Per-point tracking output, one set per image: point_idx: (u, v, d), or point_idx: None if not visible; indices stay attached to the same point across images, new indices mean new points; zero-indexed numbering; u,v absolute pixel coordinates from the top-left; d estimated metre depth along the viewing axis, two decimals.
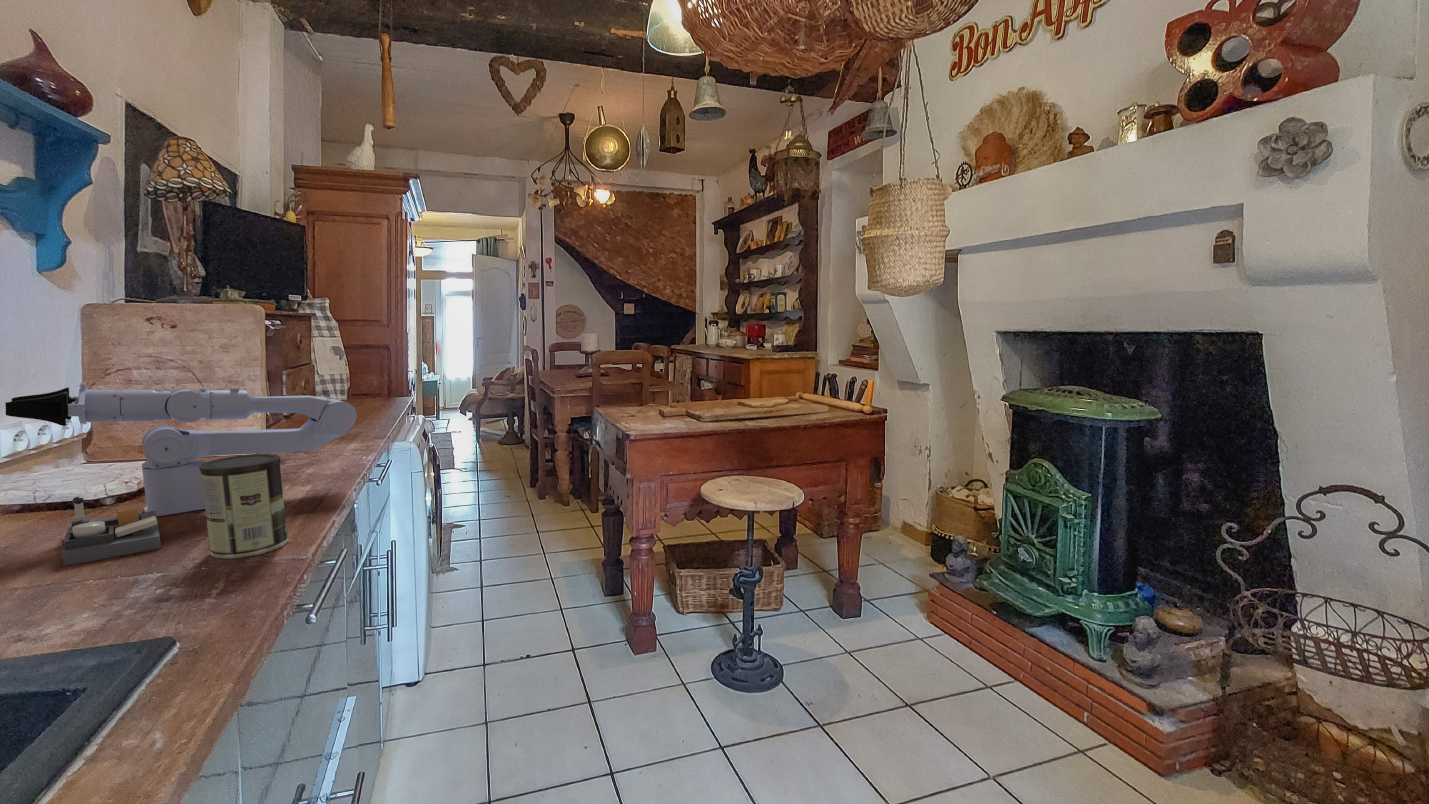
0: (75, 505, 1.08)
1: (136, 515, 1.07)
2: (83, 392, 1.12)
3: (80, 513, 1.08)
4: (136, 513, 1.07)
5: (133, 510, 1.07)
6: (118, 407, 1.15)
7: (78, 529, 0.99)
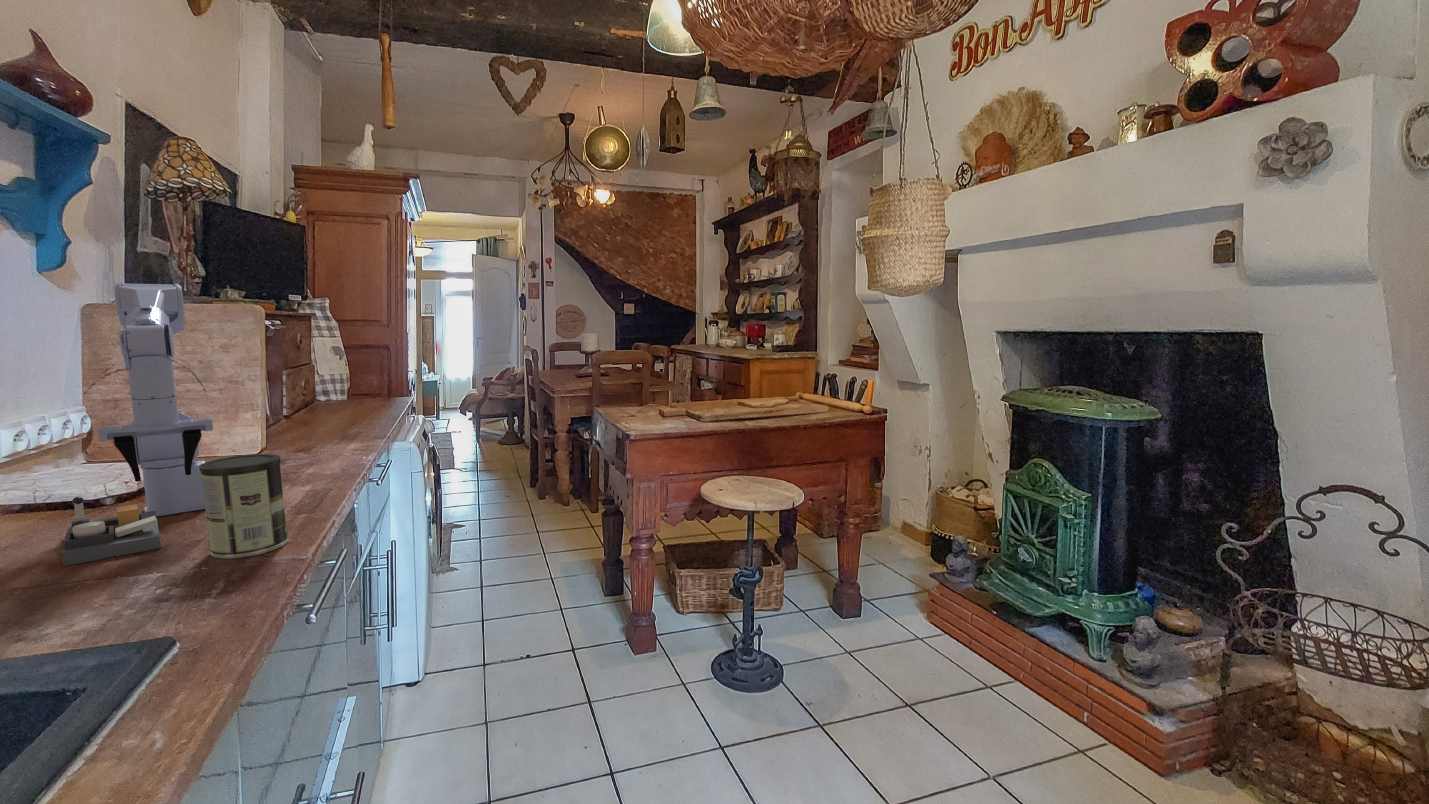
0: (75, 505, 1.08)
1: (136, 515, 1.07)
2: (173, 425, 1.09)
3: (80, 513, 1.08)
4: (136, 513, 1.07)
5: (133, 510, 1.07)
6: None
7: (78, 529, 0.99)
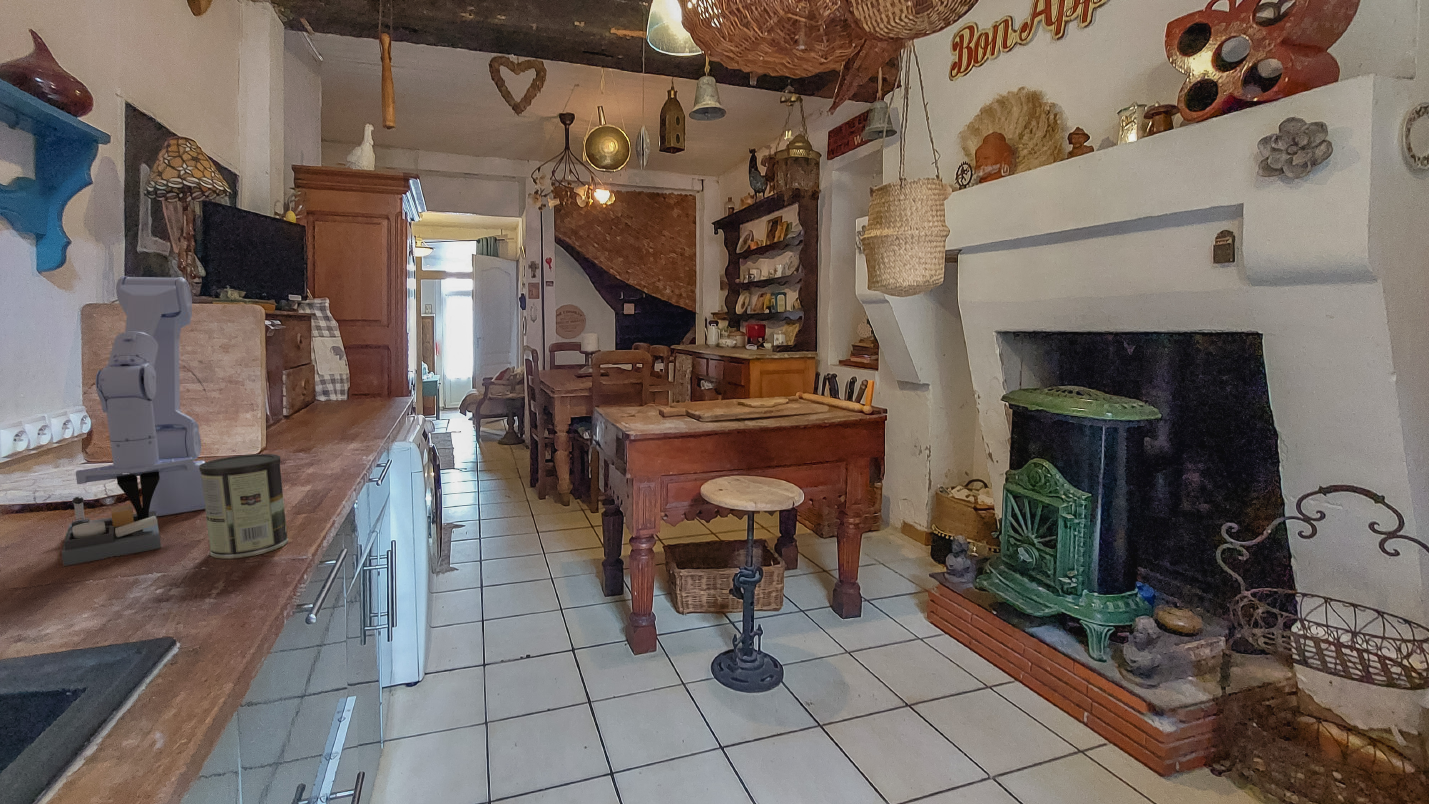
0: (75, 505, 1.08)
1: (131, 516, 1.06)
2: (153, 466, 1.07)
3: (80, 513, 1.08)
4: (131, 514, 1.06)
5: (127, 511, 1.06)
6: (156, 437, 1.09)
7: (78, 529, 0.99)
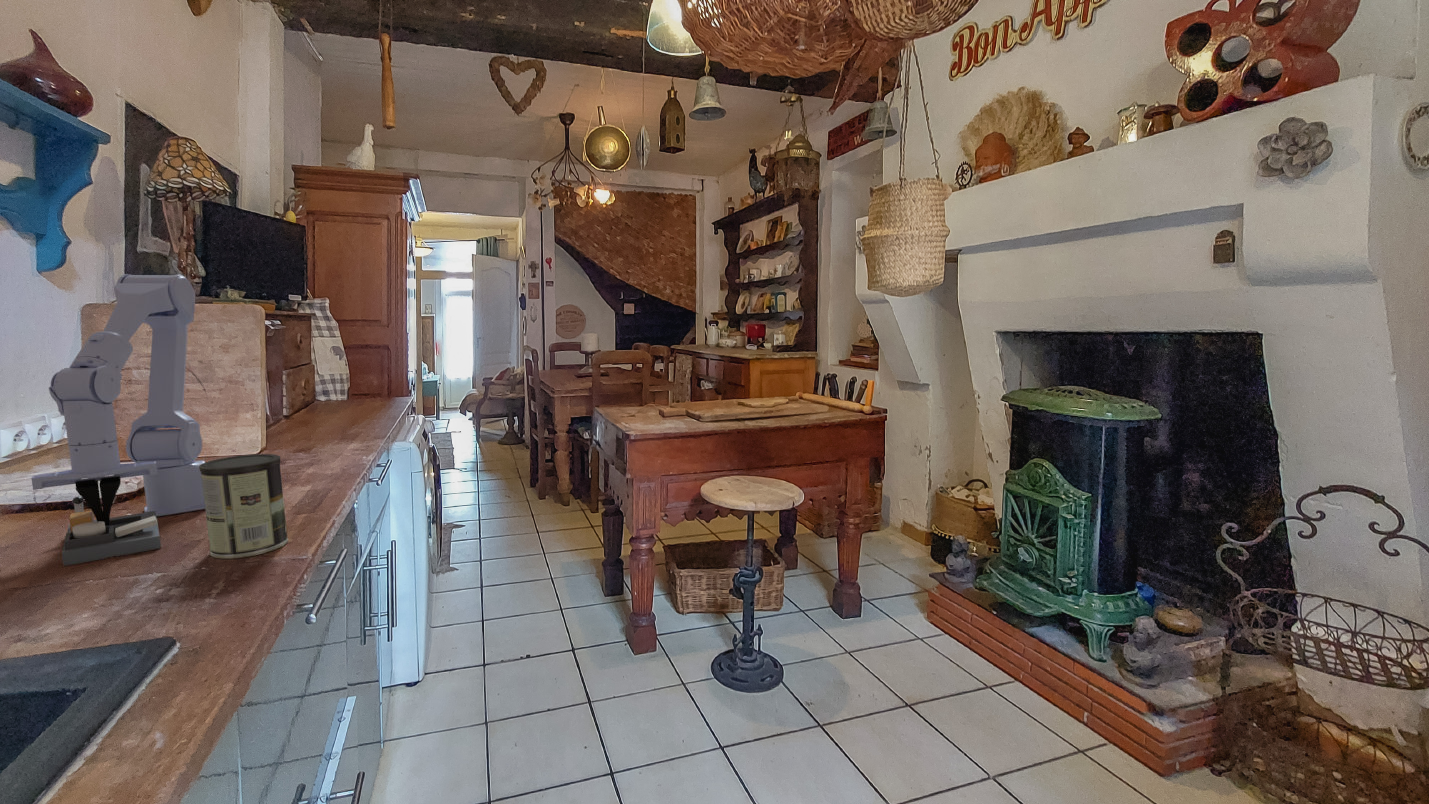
0: (75, 505, 1.08)
1: None
2: (113, 471, 1.04)
3: None
4: (90, 520, 1.03)
5: (87, 517, 1.03)
6: None
7: (78, 529, 0.99)
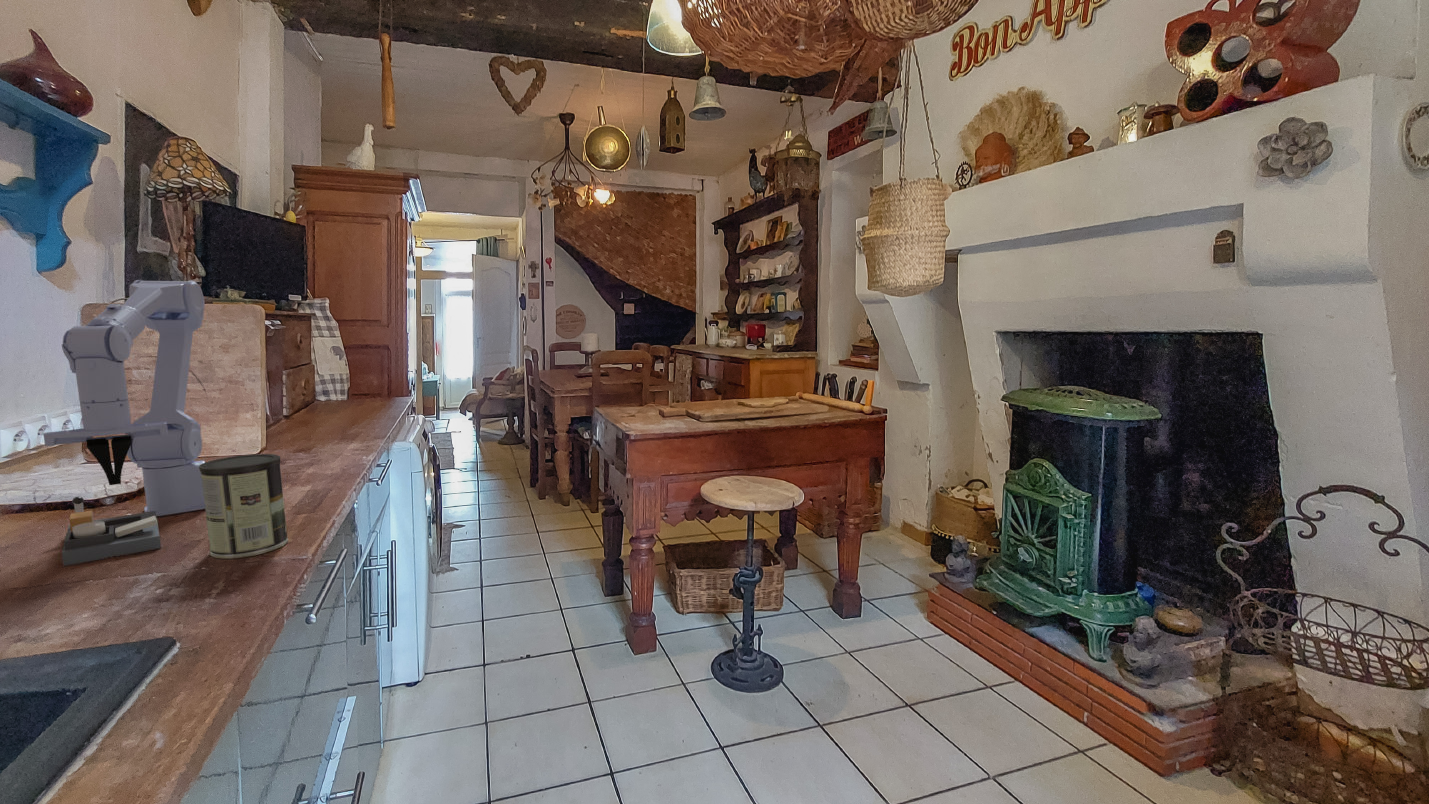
0: (75, 505, 1.08)
1: None
2: (124, 429, 1.04)
3: None
4: (90, 520, 1.03)
5: (87, 517, 1.03)
6: None
7: (78, 529, 0.99)
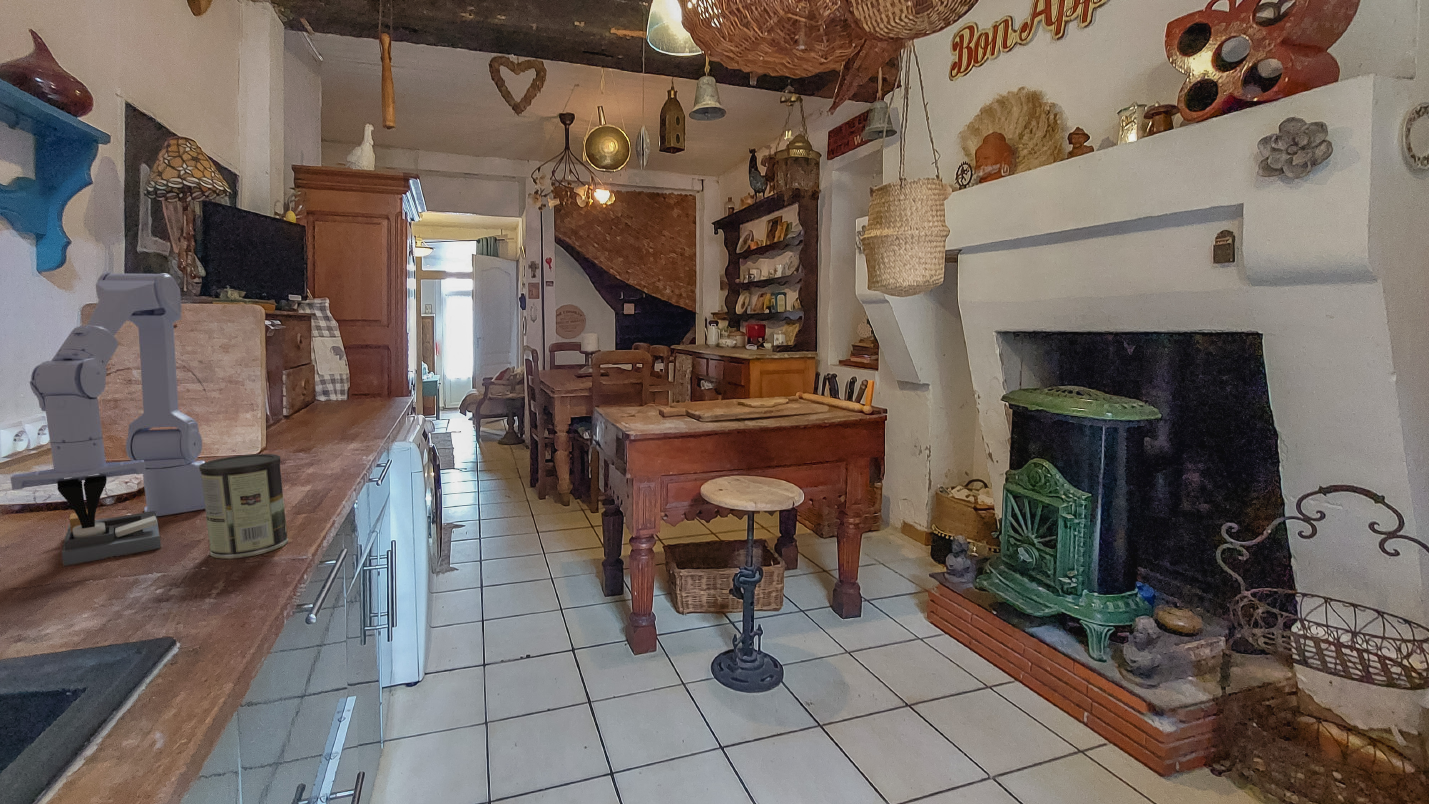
0: None
1: None
2: (98, 470, 0.98)
3: None
4: None
5: None
6: (102, 438, 1.00)
7: (78, 530, 0.99)
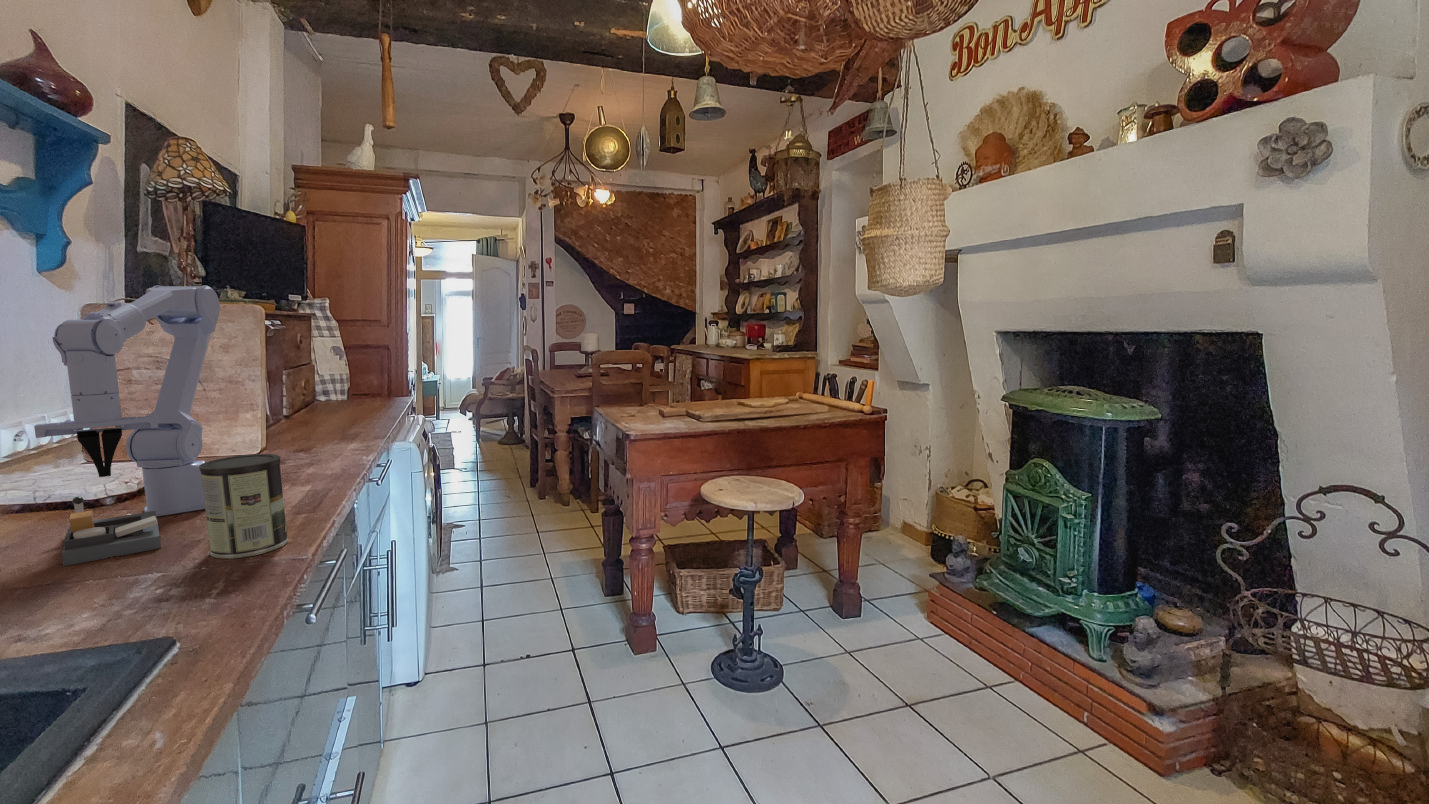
0: (75, 505, 1.08)
1: (90, 522, 1.03)
2: (114, 422, 1.06)
3: None
4: (90, 520, 1.03)
5: (87, 517, 1.03)
6: None
7: (79, 535, 0.99)
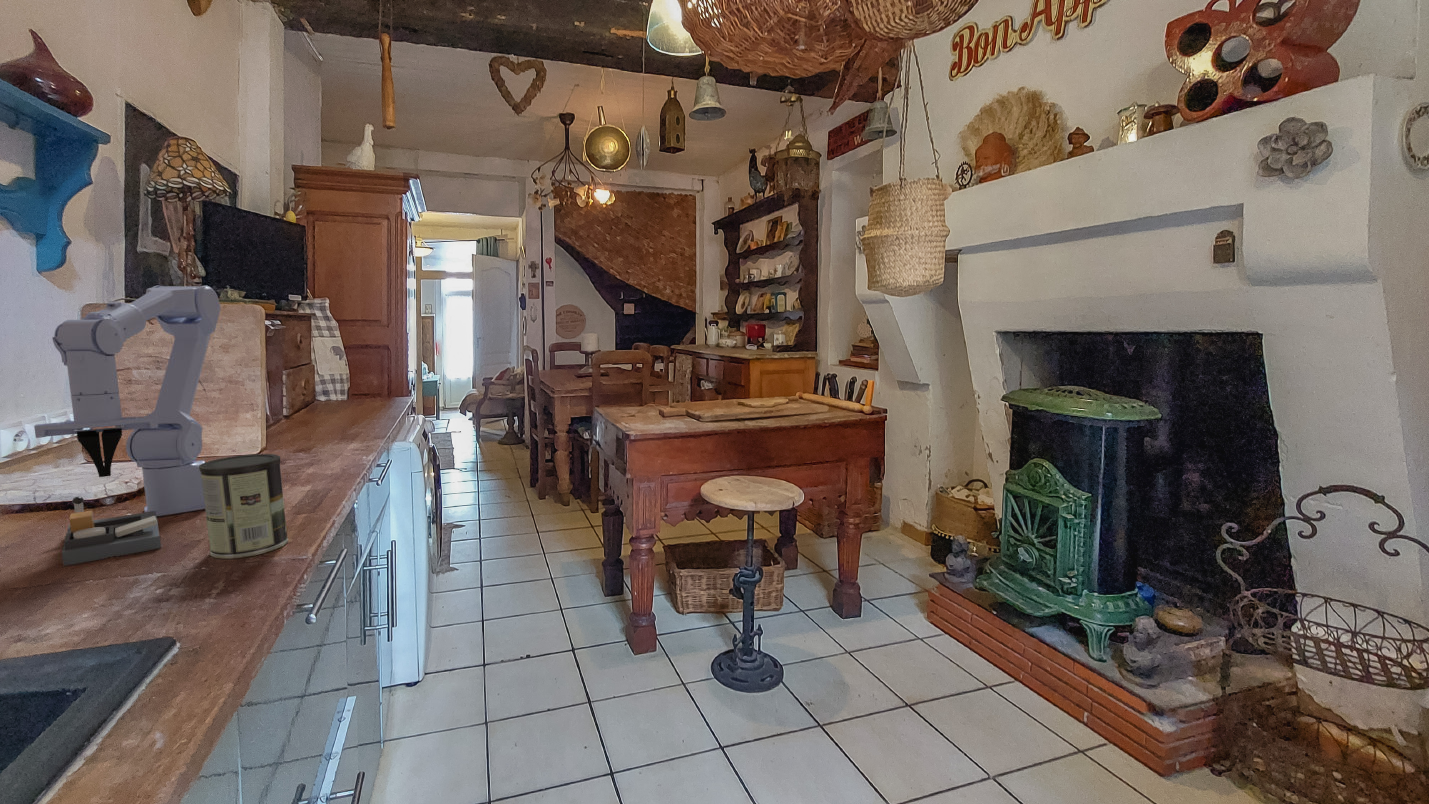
0: (75, 505, 1.08)
1: (90, 522, 1.03)
2: (114, 422, 1.06)
3: None
4: (90, 520, 1.03)
5: (87, 517, 1.03)
6: None
7: (79, 535, 0.99)
